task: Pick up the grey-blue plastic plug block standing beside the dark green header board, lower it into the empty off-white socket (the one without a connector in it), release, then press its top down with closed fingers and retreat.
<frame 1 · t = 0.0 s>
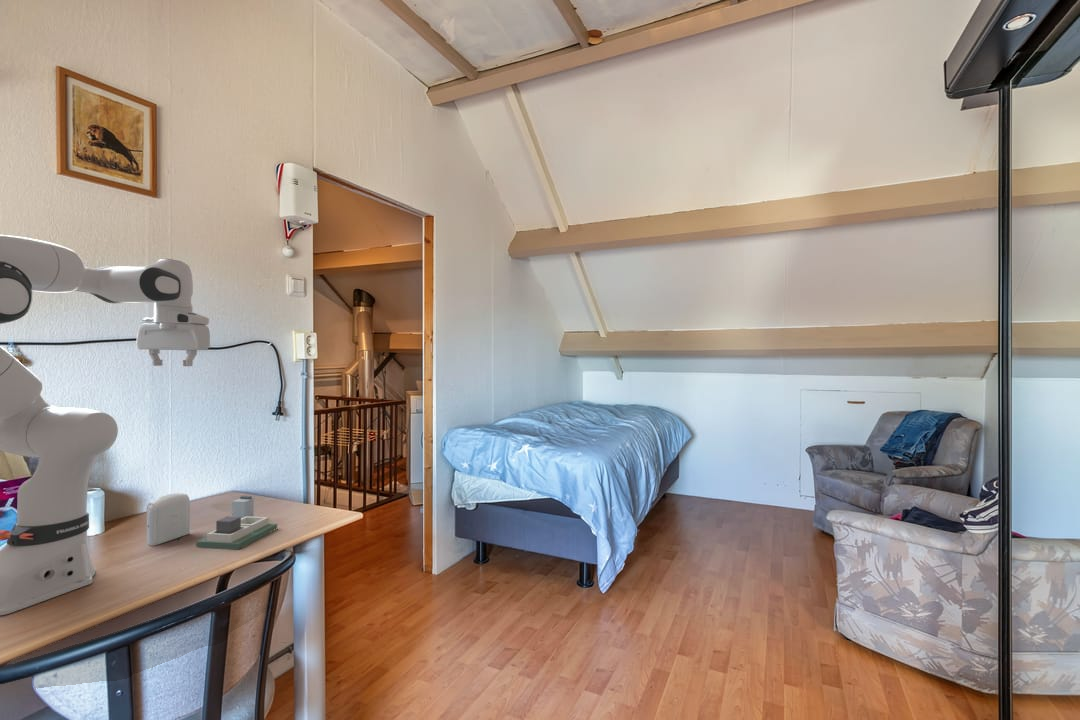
hand: (172, 366, 140), 48 cm above the table, tool pointing down, fingers open, 8 cm apart
header board: (238, 537, 138), on the table
photo printer: (168, 540, 136), on the table
plug: (242, 522, 151), on the table
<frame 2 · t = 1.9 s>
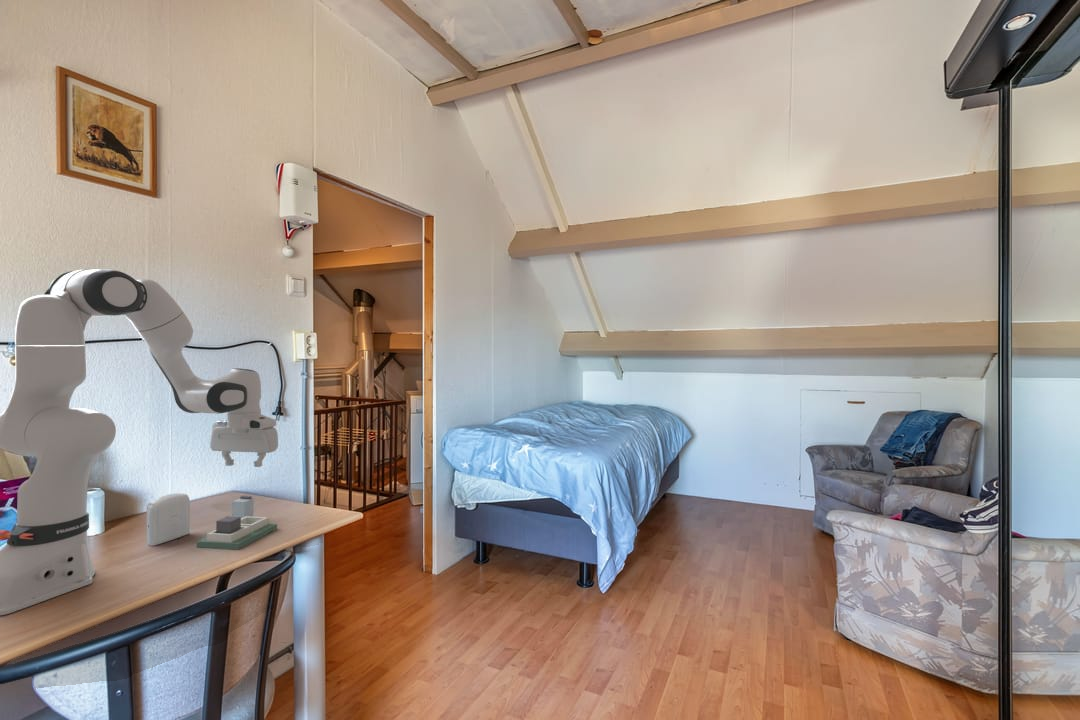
hand: (243, 466, 151), 17 cm above the table, tool pointing down, fingers open, 8 cm apart
nothing on the table moved.
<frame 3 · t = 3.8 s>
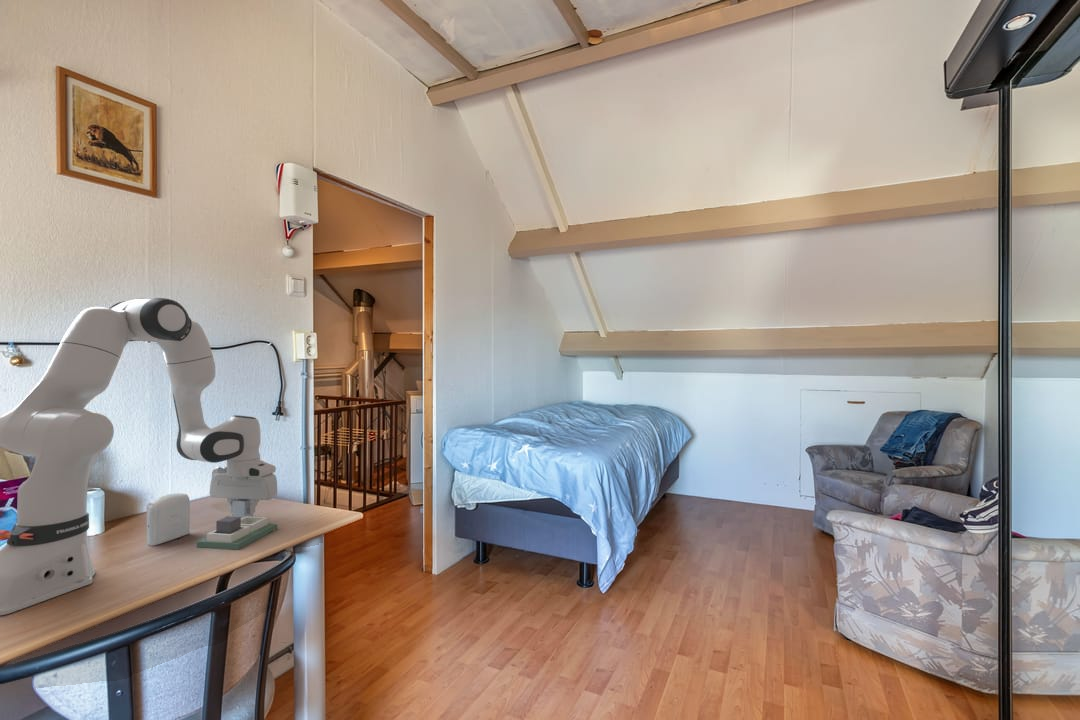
hand: (242, 512, 151), 3 cm above the table, tool pointing down, fingers closed on plug, 4 cm apart
plug: (242, 522, 151), on the table, touching gripper
everything else where it was.
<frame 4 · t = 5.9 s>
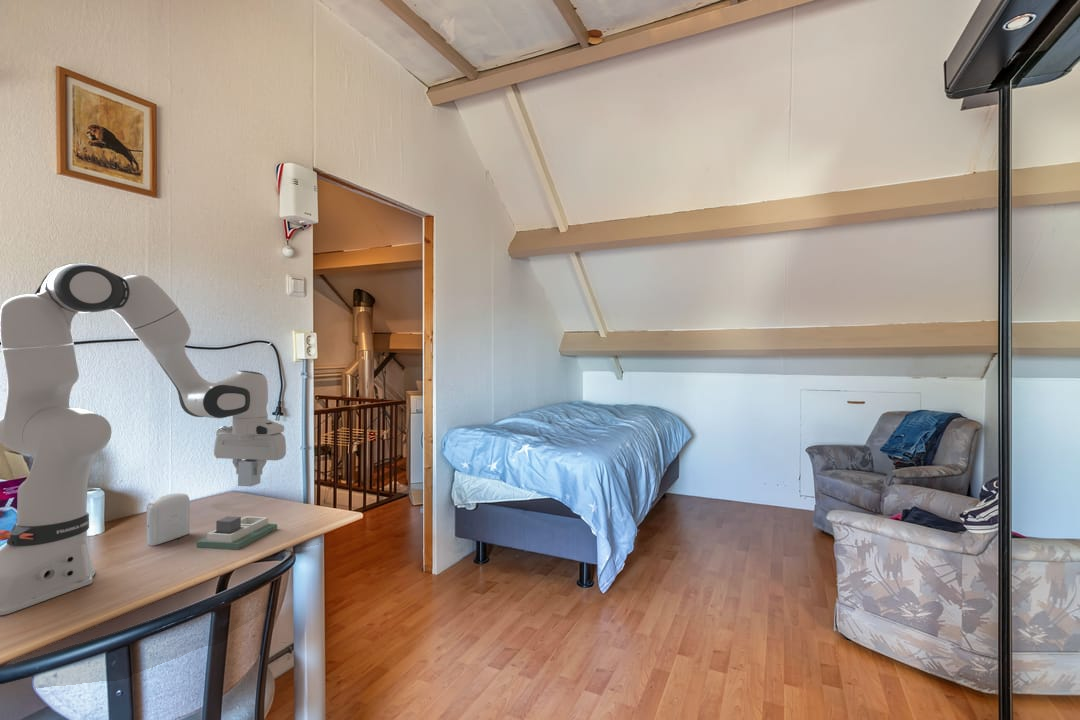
hand: (249, 474, 142), 17 cm above the table, tool pointing down, fingers closed on plug, 4 cm apart
plug: (249, 484, 142), point 14 cm above the table, touching gripper
everything else where it was.
when the fingers open (5 cm above the table, at t = 8.0 s): plug stays where it is, resting on header board.
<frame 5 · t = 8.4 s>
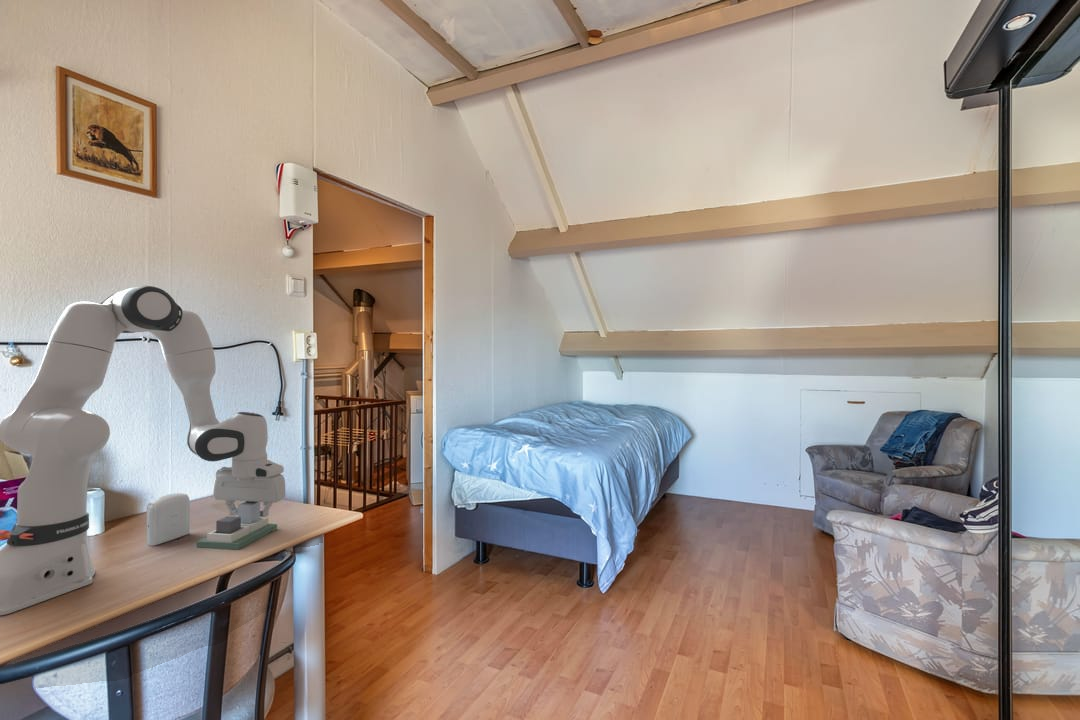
hand: (248, 515, 142), 5 cm above the table, tool pointing down, fingers open, 8 cm apart
plug: (248, 527, 142), point 1 cm above the table, touching header board
everything else where it was.
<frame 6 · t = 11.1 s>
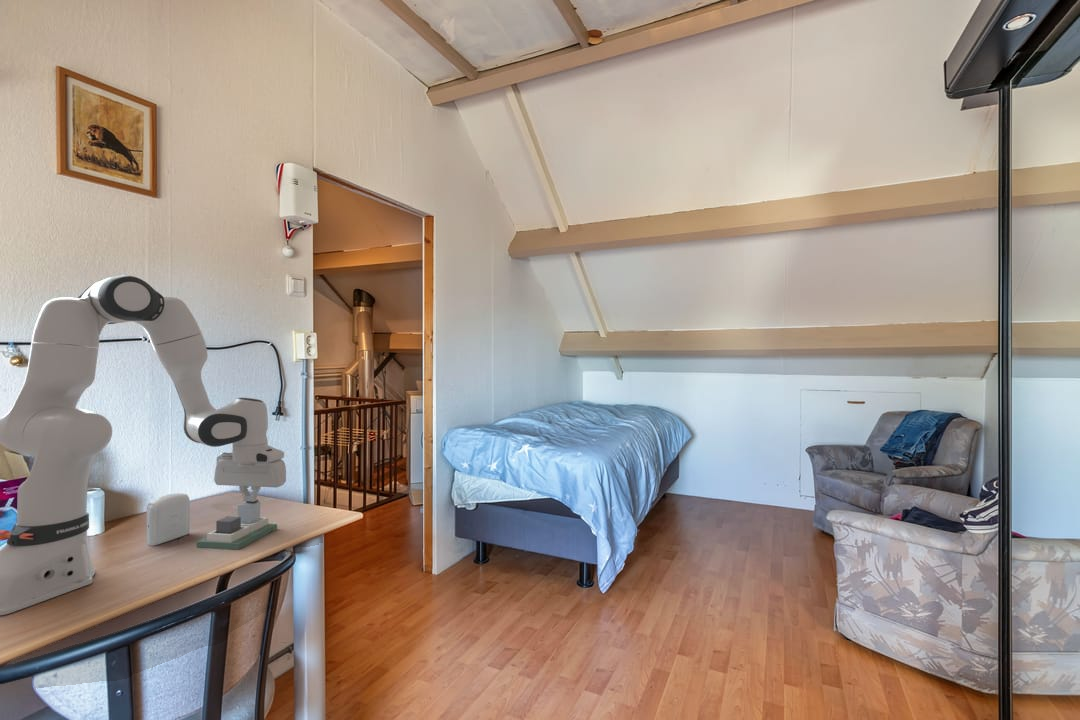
hand: (249, 501, 142), 9 cm above the table, tool pointing down, fingers closed, pressing on plug
plug: (248, 527, 142), point 2 cm above the table, touching gripper, header board
everything else where it was.
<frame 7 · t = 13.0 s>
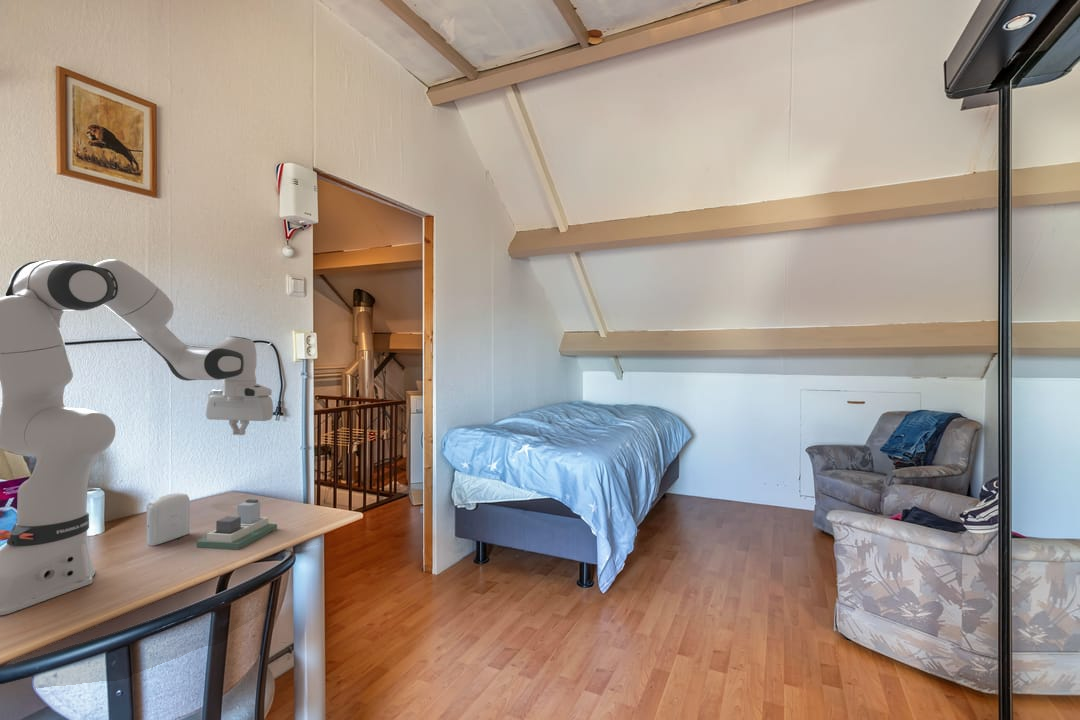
hand: (238, 434, 151), 27 cm above the table, tool pointing down, fingers closed
plug: (248, 527, 142), point 1 cm above the table, touching header board
everything else where it was.
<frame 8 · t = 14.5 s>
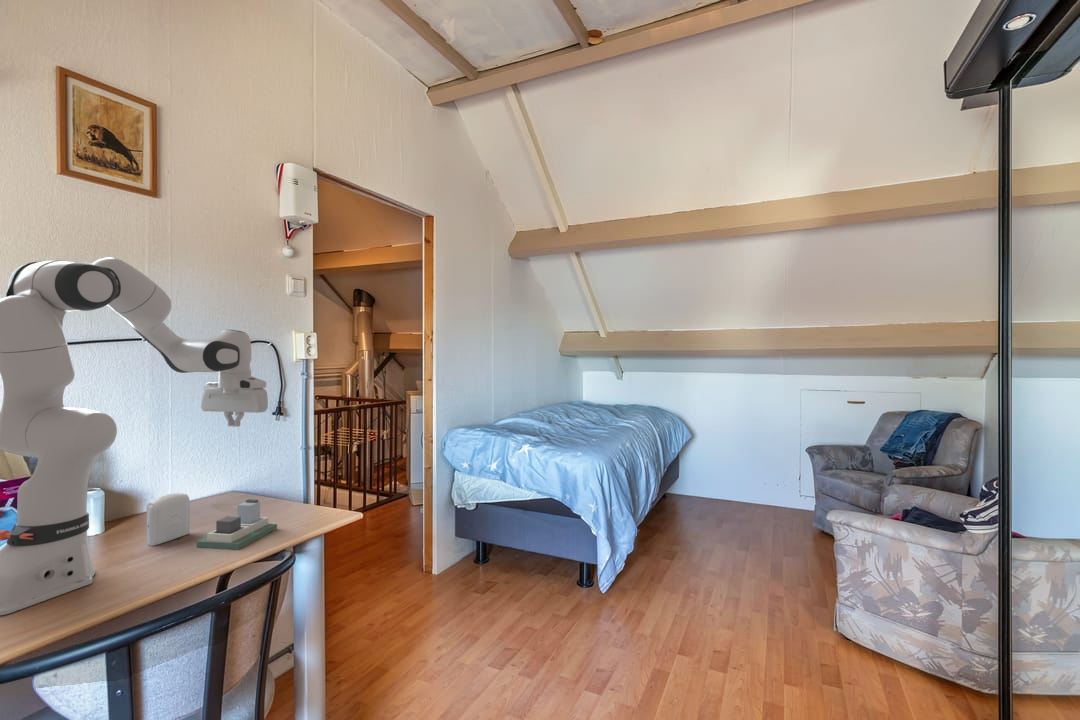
hand: (234, 426, 153), 29 cm above the table, tool pointing down, fingers closed
nothing on the table moved.
at the end: plug 0.1 cm from the target spot on the header board, point 1.5 cm above the header board's base; plug tilted 0°; the gripper is holding nothing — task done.
